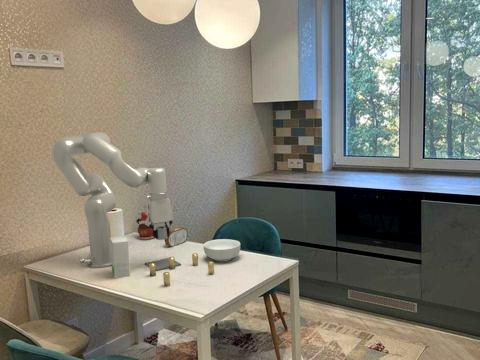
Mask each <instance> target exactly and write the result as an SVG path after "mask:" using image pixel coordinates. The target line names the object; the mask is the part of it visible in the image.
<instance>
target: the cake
mask: <svg viewBox="0 0 480 360" xmlns="http://www.w3.org/2000/svg"><path fill="white" fill-rule="evenodd" d="M137 215H139V216H141V217H140V218H137V219H136V220H135V221H136V223H137V224H138V227H137V233H138V236H137V237H138V239H140V240H150V239H155V238H154V237H153V229H151V228H150V227H149V226H147V225H145V224H144V223H145V221H146V219H147V218H148V213H147V205H145V204H144V211H141V210H140V211H138V212H137ZM149 223H150V224H151V225H152V223H151V222H149Z"/></svg>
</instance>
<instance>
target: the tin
mask: <svg viewBox="0 0 480 360" xmlns="http://www.w3.org/2000/svg"><path fill="white" fill-rule="evenodd" d="M169 230H170V234H169V237H168V238H167V239H164V244H165V245H166V246H167V247H176V246H178V245H182V244H184V243H185V242H186V241H187V239H188V237H189V233H188V229H187V228H186V227H182V226H179V227H176V228H172V229H169Z"/></svg>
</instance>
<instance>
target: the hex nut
mask: <svg viewBox="0 0 480 360" xmlns="http://www.w3.org/2000/svg"><path fill="white" fill-rule="evenodd" d="M156 229H157V230H158V239H156V240H157V241H161V240H162V241H163V240H164V241H165V239H167V238H168V236H167V227H166V226H165V225H159V226H158V225H157V228H156Z"/></svg>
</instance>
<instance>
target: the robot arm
mask: <svg viewBox="0 0 480 360" xmlns="http://www.w3.org/2000/svg"><path fill="white" fill-rule="evenodd" d="M89 153H90V154H91V155H92V156H94V157H95V158H97V159H98V160H99V161H101V162H102V163H104V164H105V165H106V166H107V167H108V168H109V170H110V171H111V173H112V174H113V175H114V176H115V177H116V178H117V179H118V180H119V181H121V182H122V183H123V184H125V185H127V186H128V187H130V188H140V187H142V186H144V185H148V195H146V199H148V202H147V215H148V218H147V219H146V221H145V223H144V224H145V225H147V226H149V227H150V228H151V229H153V237H154V238H153V239H155V240H157V239H158V230H157V229H156V228H157V227H158V224H162V223H164V226H166V227H167V236H168V237H169V234H170V230H171V229H170V228H171V225H172V224H173V223H174V222H175V220H176V219H177V218H176V217H175V215H174V214H173V208H172V204H171V200H170V198H168V193H167V192H168V190H167V180H166V179H167V178H166V170H165V168H164V167H154V168H153V167H152V168H149V167H139V168H135V169H134V168H133V167H131V166H130V165H128V164H127V163H126V162H125V161H124V160H123V158H122V151H121V150H120V149H119V148H117V147H116V146H115V145H113V144H111V138H110V136H108V135H107V134H106V133H105V132H101V131H98V132H97V131H96V132H91V133H87V134H81V135H73V136H72V135H71V136H65V137H61V138H58V139H57V140H56V141H55V143H54V144H53V147H52V153H51V154H52V159H53V161H54V164H55V165H56V167H58V169H59V170H60V171H61V173H62V174H63V176H64V177H65V179H66V181H67V182H68V183H69V185H70V186H71V187H72V189H73V190H74V192H75V193H76V194H77V195H78V196H81V197H86V196H90V197H89V198H87V199H86V201H85V203H84V206H83V208H84V209H83V211H84V213H85V218H86V221H87V230H88V241H89V252H90V254H88V256H87V257H82V258H80V259H79V262H80V264H82V263H84V264H87V266H88V267H90V268H97V269H98V268H99V269H100V268H101V269H102V268H107V267H112V261H111V246H110V238H112V232H111V224H110V223H111V222H110V220H109V216H108V213H109V212H111V211H113V210H114V209H115V208H116V206H117V199H116V196H115V194H114V193H113V191H112V190H111V188H110V187H109V185H108V184H107V182H106V181H105V180H104V178H103V177H102V176H101V175H100V174H98V173H95V172H86V170H85V169H84V168H83V166H82V164H81V163H80V162H79V161H78V160H77V159H76V158H74V156H78V155H83V154H89ZM149 222H151V223H152V225H151V224H150V223H149Z"/></svg>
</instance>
